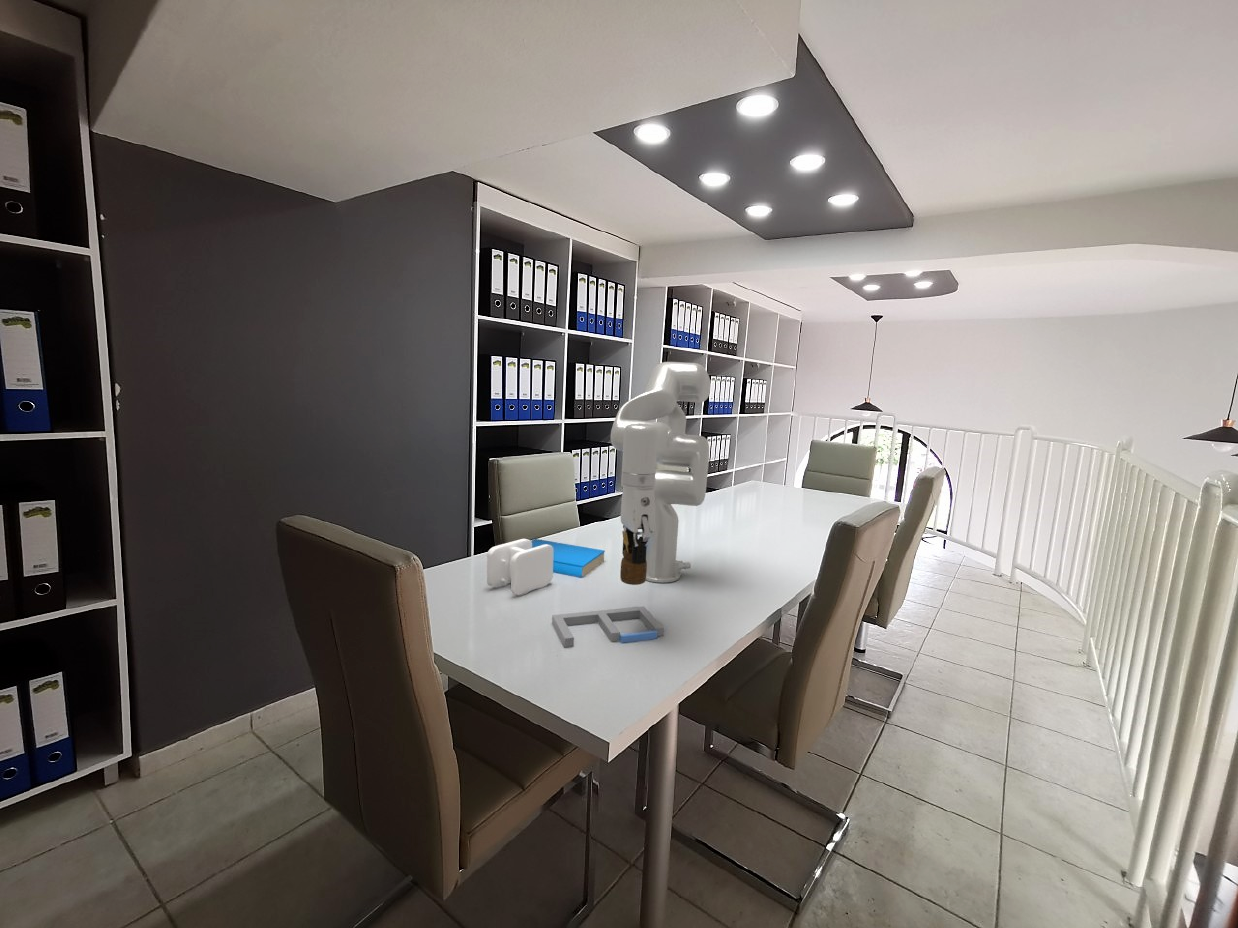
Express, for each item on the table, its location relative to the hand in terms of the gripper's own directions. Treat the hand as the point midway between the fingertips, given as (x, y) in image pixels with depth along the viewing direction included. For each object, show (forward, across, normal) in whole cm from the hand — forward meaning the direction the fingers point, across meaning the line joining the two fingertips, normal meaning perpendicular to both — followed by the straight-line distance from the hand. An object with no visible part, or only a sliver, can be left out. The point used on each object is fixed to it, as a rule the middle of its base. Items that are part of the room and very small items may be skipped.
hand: (633, 557), depth 126 cm
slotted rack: (+17, +1, +5) cm, 18 cm away
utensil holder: (+6, 0, 0) cm, 6 cm away
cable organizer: (+17, +31, +20) cm, 41 cm away
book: (+18, +48, +6) cm, 52 cm away
